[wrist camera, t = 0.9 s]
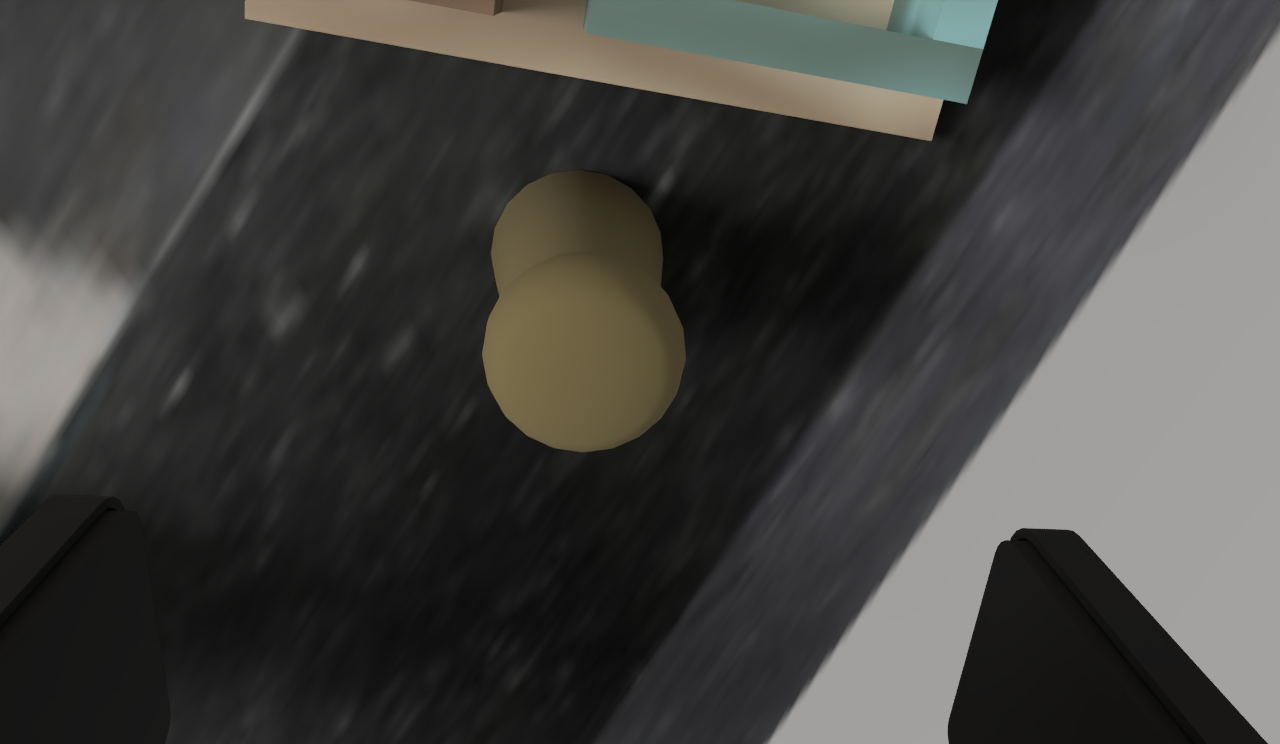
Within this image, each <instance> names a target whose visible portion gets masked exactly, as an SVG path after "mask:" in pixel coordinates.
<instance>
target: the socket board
mask: <svg viewBox="0 0 1280 744" xmlns="http://www.w3.org/2000/svg"><path fill="white" fill-rule="evenodd" d="M997 2H998V0H245V19H250V20H256V21H261V22H267V23H273V24H278V25H284V26H289V27H295V28H301V29H306V30H312V31H317V32H323V33H329V34H334V35H340V36H345V37H351V38H357V39H362V40H368V41H373V42H379V43H385V44H390V45H396V46H401V47H407V48H413V49H418V50H424V51H430V52H435V53H441V54H446V55H452V56H458V57H463V58H469V59H474V60H480V61H486V62H491V63H497V64H502V65H508V66H514V67H519V68H525V69H530V70H536V71H542V72H547V73H553V74H558V75H564V76H570V77H575V78H581V79H586V80H592V81H598V82H603V83H609V84H614V85H620V86H626V87H631V88H637V89H643V90H648V91H654V92H659V93H665V94H671V95H676V96H682V97H687V98H693V99H699V100H704V101H710V102H715V103H721V104H727V105H732V106H738V107H743V108H749V109H755V110H760V111H766V112H771V113H777V114H783V115H788V116H794V117H799V118H805V119H811V120H816V121H822V122H827V123H833V124H839V125H844V126H850V127H855V128H861V129H867V130H872V131H878V132H884V133H889V134H895V135H900V136H906V137H912V138H917V139H923V140H928V141H932V138H933V134H934V131H935V127H936V124H937V120H938V117H939V113H940V110H941V107H942V103H943V100H948V101H954V102H959V103H964V104H967V102H968V98H969V95H970V92H971V88H972V85H973V82H974V78H975V75H976V72H977V68H978V65H979V62H980V59H981V55H982V52H983V49H984V45H985V42H986V39H987V35H988V32H989V29H990V25H991V22H992V19H993V15H994V12H995V9H996V5H997Z"/></svg>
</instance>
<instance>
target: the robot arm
mask: <svg viewBox="0 0 1280 744" xmlns="http://www.w3.org/2000/svg"><path fill="white" fill-rule="evenodd" d="M169 725H170V704H169V698H168V692H167V685H166V679H165V672H164V666H163V660H162V653H161V647H160V640H159V634H158V627H157V621H156V615H155V608H154V602H153V595H152V589H151V582H150V576H149V570H148V563H147V557H146V550H145V544H144V537H143V531H142V525H141V521H140V518H139V516H138V515H137V513H135V512H133V511H125V510H124V507H123V505H122V503H121V502H120V500H119V499H117V498H115V497H106V496H77V495H55V496H52V497H51V498H49V499H48V500H46V501H45V502H44V503H43V504H42V505H41V506H40V507H39V508H38V509H37V510H36V511H35V512H34V513H33V514H32V515H31V516H30V517H29V518H28V519H27V520H26V521H25V522H24V523H23V524H22V525H21V526H20V527H19V528H18V529H17V530H16V531H15V532H13V533H12V534H11V535H10V536H9V537H8V538H7V539H6V540H5V541H4V542H3V543H2V544H1V545H0V744H165V741H166V738H167V735H168V730H169ZM948 740H949V744H1268V743H1267V742H1266V741H1265V740H1264V739H1263V738H1262V737H1261V736H1260V735H1259V734H1258V732H1257V731H1256V730H1255V729H1254V728H1253V727H1252V726H1251V725H1250V724H1249V722H1248V721H1247V720H1246V719H1245V718H1244V717H1243V716H1242V715H1241V714H1240V713H1239V712H1238V710H1237V709H1236V708H1235V707H1234V706H1233V705H1232V704H1231V703H1230V702H1229V700H1228V699H1227V698H1226V697H1225V696H1224V695H1223V694H1222V693H1221V692H1220V690H1219V689H1217V687H1216V686H1215V685H1214V684H1213V683H1212V682H1211V681H1210V679H1209V678H1208V677H1207V676H1206V675H1205V674H1204V673H1203V672H1202V671H1201V669H1199V667H1198V666H1197V665H1196V664H1195V663H1194V662H1193V661H1192V660H1191V659H1190V658H1189V656H1188V655H1187V654H1186V653H1185V652H1184V651H1183V650H1182V649H1181V647H1180V646H1179V645H1178V644H1177V643H1176V642H1175V641H1174V640H1173V639H1172V637H1171V636H1170V635H1169V634H1168V633H1167V632H1166V631H1165V630H1164V629H1163V628H1162V626H1161V625H1160V624H1159V623H1158V622H1157V621H1156V620H1155V619H1154V618H1153V616H1151V614H1150V613H1149V612H1148V611H1147V610H1146V609H1145V608H1144V607H1143V605H1141V603H1140V602H1139V601H1138V600H1137V599H1136V598H1135V597H1134V596H1133V594H1132V593H1131V592H1130V591H1129V590H1128V589H1127V588H1126V587H1125V586H1124V584H1123V583H1122V582H1121V581H1120V580H1119V579H1118V578H1117V577H1116V576H1115V575H1114V574H1113V572H1112V571H1111V570H1110V569H1109V568H1108V567H1107V566H1106V565H1105V563H1104V562H1103V561H1102V560H1101V559H1100V558H1099V557H1098V556H1097V555H1096V554H1095V553H1094V551H1093V550H1092V549H1091V548H1090V547H1089V546H1088V545H1087V544H1086V543H1085V541H1084V540H1083V539H1082V538H1081V537H1080V536H1079V535H1077V534H1076V533H1075V532H1074V531H1070V530H1056V529H1026V528H1022V529H1020V530H1017V531H1016V532H1015V533H1014V535H1013V536H1012V537H1011V540H1010V541H1003V542H1001V543H1000V545H999V546H998V547H997V550H996V552H995V556H994V559H993V563H992V566H991V570H990V574H989V577H988V581H987V585H986V588H985V592H984V595H983V599H982V602H981V606H980V610H979V613H978V617H977V621H976V624H975V628H974V631H973V635H972V639H971V642H970V646H969V650H968V653H967V657H966V661H965V664H964V667H963V671H962V675H961V678H960V682H959V686H958V689H957V693H956V696H955V700H954V703H953V707H952V711H951V714H950V718H949V723H948Z"/></svg>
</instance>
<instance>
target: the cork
mask: <svg viewBox="0 0 1280 744" xmlns="http://www.w3.org/2000/svg"><path fill="white" fill-rule="evenodd" d="M491 257H492V263H493V269H494V274H495V280H496V284H497V289H498V293H499V299H498V301H497V303H496V305H495V307H494V308H493V310H492V312H491V314H490V316H489V318H488V322H487V327H486V333H485V339H484V346H483V352H482V357H483V362H484V367H485V373H486V378H487V384H488V386H489V388H490V390H491V392H492V394H493V395H494V397H495V399H496V401H497V402H498V404H499V406H500V408H501V409H502V411H503V413H504V415H505V416H506V417H507V418H508V419H509V420H510V421H511V422H512V423H513V424H515V425H516V426H517V427H518V428H519V429H520V430H521V431H522V432H523V433H525V434H526V435H527V436H529V437H531V438H533V439H535V440H537V441H540V442H542V443H544V444H546V445H548V446H550V447H553V448H557V449H564V450H571V451H577V452H589V451H597V450H605V449H612V448H615V447H617V446H619V445H621V444H624V443H626V442H628V441H631V440H633V439H635V438H638V437H640V436H641V435H642V434H643V433H644V432H645V431H647V430H648V429H649V428H650V427H651V426H653V425H654V424H655V423H656V422H657V421H659V420H660V419H661V418H662V416H663V415H664V413H665V412H666V410H667V409H668V407H669V405H670V404H671V402H672V401H673V399H674V397H675V396H676V394H677V392H678V388H679V385H680V381H681V376H682V372H683V368H684V364H685V360H686V353H685V342H684V331H683V327H682V325H681V322H680V320H679V318H678V316H677V313H676V311H675V309H674V307H673V305H672V302H671V300H670V298H669V296H668V294H667V293H666V292H665V291H664V290H663V289H662V288H661V279H662V267H663V252H662V242H661V232H660V230H659V228H658V226H657V223H656V221H655V219H654V217H653V214H652V212H651V210H650V208H649V207H648V206H647V205H646V204H645V203H644V202H643V200H642V199H641V198H640V197H639V196H638V195H637V194H636V193H635V192H634V191H633V189H632V188H630V187H628V186H626V185H624V184H623V183H621V182H619V181H617V180H616V179H614V178H612V177H610V176H609V175H605V174H600V173H595V172H590V171H585V170H572V171H564V172H556V173H551V174H549V175H547V176H545V177H543V178H540V179H538V180H536V181H534V182H532V183H530V184H528V185H526V186H525V187H524V188H523V189H522V190H521V191H520V192H519V193H518V194H517V195H516V196H515V197H514V198H513V199H512V200H511V201H510V202H509V203H507V205H506V207H505V209H504V211H503V213H502V215H501V217H500V219H499V221H498V223H497V224H496V226H495V230H494V237H493V243H492V250H491Z"/></svg>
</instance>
